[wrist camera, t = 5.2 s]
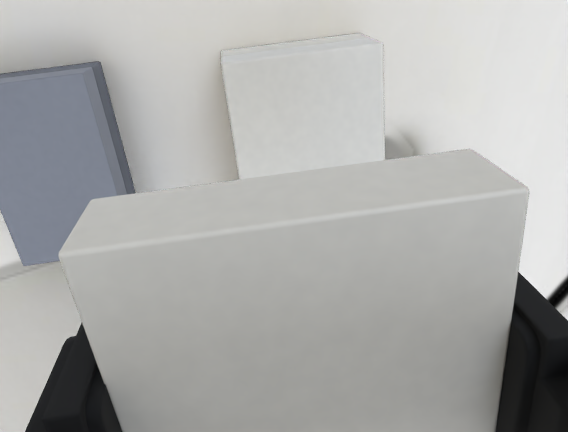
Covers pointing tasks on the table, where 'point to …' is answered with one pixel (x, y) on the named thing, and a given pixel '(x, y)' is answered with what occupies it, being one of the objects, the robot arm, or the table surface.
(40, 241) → the grey-blue block
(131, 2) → the table surface
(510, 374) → the robot arm
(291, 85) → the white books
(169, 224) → the white book
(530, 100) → the table surface
